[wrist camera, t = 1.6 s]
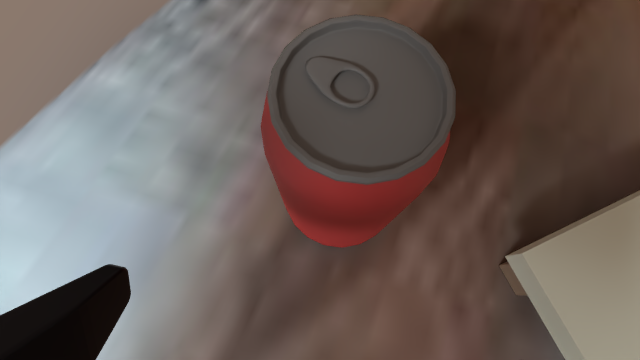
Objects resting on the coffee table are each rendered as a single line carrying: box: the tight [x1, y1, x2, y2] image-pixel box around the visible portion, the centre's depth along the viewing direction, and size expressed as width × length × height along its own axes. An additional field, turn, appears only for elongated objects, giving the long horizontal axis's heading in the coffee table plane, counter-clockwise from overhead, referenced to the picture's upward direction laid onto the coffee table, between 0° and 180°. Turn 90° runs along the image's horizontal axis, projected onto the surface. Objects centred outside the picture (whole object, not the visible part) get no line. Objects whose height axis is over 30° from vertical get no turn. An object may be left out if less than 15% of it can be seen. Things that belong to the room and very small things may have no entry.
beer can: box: [261, 15, 456, 247], centre depth 16 cm, size 7×7×12 cm
